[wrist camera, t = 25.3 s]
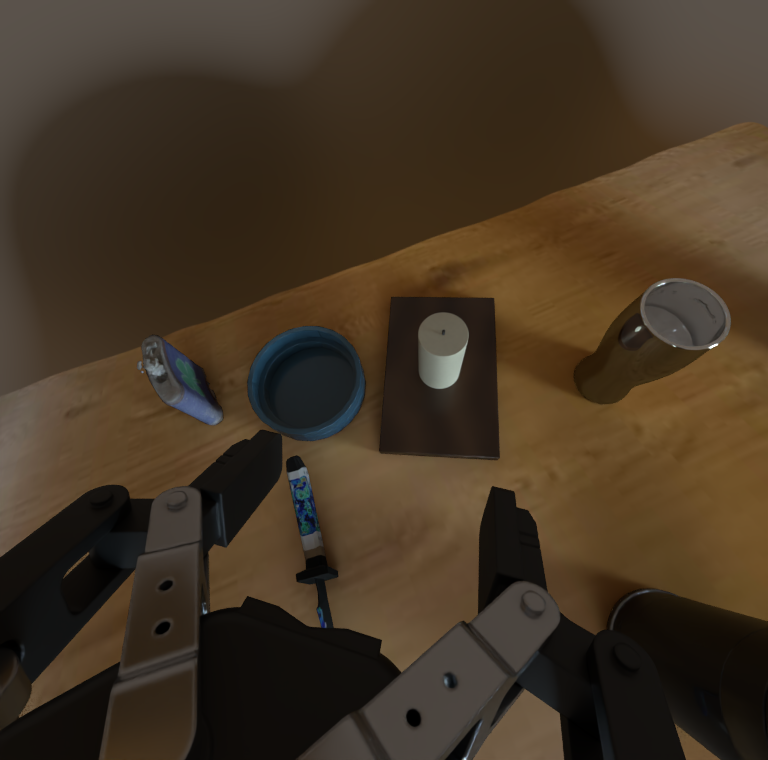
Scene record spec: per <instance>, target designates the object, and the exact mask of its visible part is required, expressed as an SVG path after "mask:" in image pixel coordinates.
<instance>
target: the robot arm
mask: <svg viewBox="0 0 768 760" xmlns="http://www.w3.org/2000/svg"><path fill="white" fill-rule="evenodd" d="M281 471H282V436H281V434H278V433H274V432H270V431H266V430H260V431H259V432H258V433H257V434H256V435H255V436H254V437H253V438H251V439H250V440H247V439H244V440H242V441H240V442H238V443H236V444H234V445H232V446H231V447H230V448H229V449H228V450H227V451H226V452H225V453H223V455H221V456H220V457H219V458H218V459H217V460H216V462H214V463H213V464H211V465H210V466H209V467H208V468H207V469H206V470H205V471H204V472H203V473H202V474H201V475H200V476H198V477H197V478H196V479H195V480H194V481H193V482H192V483H191V484H190V485H189V486H181V487H175V488H172V489H169V490H167V491H165V492H163V493H161V494H160V495H159V496H157V497H156V499H130V496H129V492H128V490H127V489H126V488H125V487H123V486H120V485H106V486H101V487H98V488H95V489H93V490H90V491H88V492H87V493H85V494H83V495H82V496H81V497H79V498H78V499H77V500H75V501H74V502H73V503H71V504H70V505H69V506H67V507H66V508H65V509H64V510H62V511H61V512H60V513H58V514H57V515H56V516H54V517H53V518H52V519H50V520H49V521H48V522H46V523H45V524H44V525H42V526H41V527H40V528H38V529H37V530H36V531H34V532H33V533H32V534H30V535H29V536H28V537H27V538H25V539H24V540H23V541H21V542H20V543H19V544H17V545H16V546H15V547H13V548H12V549H11V550H9V551H8V552H7V553H5V554H4V555H3V556H1V557H0V760H473V758H474V757H475V755H476V754H477V752H478V751H479V749H480V748H481V746H482V744H483V743H484V741H485V740H486V738H487V737H488V735H489V734H490V733H491V732H492V730H493V729H494V728H495V726H496V725H497V724H498V723H499V721H500V720H501V719H502V718H503V716H504V715H505V714H506V713H507V711H508V710H509V709H510V707H511V706H512V705H513V704H514V702H515V701H516V700H517V699H518V697H519V696H520V695H521V694H522V692H523V691H524V690H525V689H526V690H528V691H529V692H530V693H532V694H533V695H535V696H536V697H538V698H539V699H540V700H542V701H543V702H545V703H546V704H548V705H549V706H550V707H552V708H553V709H555V710H556V711H558V712H559V713H560V720H561V731H562V741H563V751H564V760H686V758H685V755H684V752H683V749H682V746H681V743H680V740H679V737H678V734H677V731H676V727H675V724H676V725H677V726H678V727H680V728H681V729H682V730H683V731H685V732H686V733H687V734H689V735H690V736H691V737H692V738H694V739H695V740H696V741H697V742H699V743H700V744H701V745H703V746H704V747H705V748H706V749H708V750H709V751H710V752H711V753H713V754H714V755H715V756H717V757H718V758H719V759H720V760H768V621H765V620H761V619H758V618H754V617H751V616H747V615H743V614H740V613H736V612H733V611H729V610H726V609H722V608H718V607H715V606H711V605H708V604H704V603H701V602H697V601H693V600H690V599H687V598H683V597H680V596H677V595H675V594H673V593H670V592H666V591H662V590H658V589H649V588H647V589H638V590H635V591H632V592H630V593H628V594H626V595H624V596H623V597H622V598H621V599H620V600H619V601H618V602H617V603H616V604H615V606H614V607H613V609H612V611H611V613H610V616H609V619H608V623H607V630H603V631H600V632H599V633H597V635H596V636H595V635H594V634H592V633H590V632H588V631H587V630H585V629H583V628H582V627H580V626H578V625H577V624H575V623H573V622H572V621H570V620H569V619H568V618H566V617H565V616H564V615H563V614H562V613H561V612H560V611H559V608H558V606H557V604H556V602H555V600H554V599H553V598H552V596H551V595H550V594H549V593H548V591H547V586H546V580H545V574H544V568H543V562H542V556H541V550H540V544H539V539H538V532H537V526H536V522H535V521H534V519H533V518H532V516H531V514H530V513H529V511H528V510H525V509H521V508H517V507H516V499H515V492H514V491H511V490H506V489H502V488H498V487H494V486H492V488H491V490H490V494H489V497H488V500H487V504H486V507H485V510H484V514H483V517H482V521H481V526H480V534H479V586H478V615H477V616H476V617H475V618H474V619H473V620H472V621H471V622H469V623H466V622H465V621H461V622H459V623H457V624H456V625H455V626H454V627H453V628H451V629H450V630H449V631H448V632H447V633H446V634H445V635H444V636H442V637H441V638H440V639H439V640H438V641H437V642H436V643H435V644H434V645H432V646H431V647H430V648H429V649H428V650H427V651H426V652H425V653H423V654H422V655H421V656H420V657H419V658H418V659H417V660H416V661H414V662H413V663H412V664H411V665H410V666H409V667H408V668H407V669H405V670H404V671H403V672H402V673H401V671H400V670H399V669H398V668H397V667H396V666H395V665H394V664H393V663H392V662H391V661H390V660H389V659H388V658H387V657H385V656H384V655H382V654H381V653H380V648H381V642H382V640H380V639H377V638H374V637H371V636H368V635H365V634H362V633H359V632H355V631H352V630H349V629H341V628H319V627H309V626H306V625H305V624H303V623H302V622H300V621H299V620H298V619H296V618H295V617H293V616H292V615H290V614H289V613H288V612H286V611H285V610H283V609H282V608H280V607H279V606H276V605H273V604H270V603H267V602H264V601H261V600H258V599H255V598H252V597H249V596H247V598H246V599H245V601H244V602H243V604H242V606H241V607H233V608H225V609H220V610H217V611H213V612H210V585H209V554H208V551H209V550H210V549H211V548H212V546H213V545H214V544H216V545H219V546H222V547H227V546H228V545H229V543H230V542H231V541H232V540H233V538H234V537H235V536H236V534H237V533H238V532H239V530H240V529H241V528H242V527H243V525H244V524H245V523H246V521H247V520H248V519H249V518H250V516H251V515H252V514H253V512H254V511H255V510H256V508H257V507H258V506H259V505H260V503H261V502H262V501H263V499H264V498H265V497H266V496H267V494H268V493H269V492H270V490H271V489H272V488H273V486H274V485H275V484H276V483H277V481H278V479H279V477H280V475H281ZM88 551H89V555H88V556H87V557H86V558H85V559H84V560H83V561H82V562H81V563H80V564H79V565H77V566H76V567H75V568H74V569H73V570H72V571H71V572H70V573H69V574H68V575H67V576H66V577H65V578H64V579H63V577H64V576H65V574H66V572H67V571H68V570H69V569H70V568H71V567H72V566H73V565H74V564H75V563H76V562H77V561H78V560H79V559H80V558H82V557H83V556H84V555H85V554H86V553H87V552H88ZM135 569H136V571H135V577H134V583H133V589H132V595H131V601H130V607H129V613H128V619H127V625H126V631H125V637H124V643H123V649H122V655H121V661H120V662H118V663H116V664H115V665H113V666H111V667H109V668H108V669H106V670H104V671H102V672H100V673H99V674H97V675H95V676H93V677H91V678H90V679H88V680H86V681H84V682H82V683H81V684H79V685H77V686H75V687H74V688H72V689H70V690H68V691H66V692H65V693H63V694H61V695H59V696H57V697H56V698H54V699H52V700H50V701H49V702H47V703H45V704H43V705H41V706H40V707H38V708H36V709H34V710H32V711H31V712H29V713H27V714H25V715H24V716H22V717H20V718H19V714H20V713H21V712H22V710H23V709H24V707H25V706H26V704H27V702H28V700H29V698H30V695H31V691H32V683H33V682H34V681H35V680H36V679H37V678H38V676H39V675H40V674H41V673H42V672H43V671H44V670H45V669H46V668H47V666H48V665H49V664H50V663H51V662H52V661H53V660H54V659H55V658H56V656H57V655H58V654H59V653H60V652H61V651H62V650H63V649H64V648H65V646H66V645H67V644H68V643H69V642H70V641H71V640H72V639H73V638H74V637H75V635H76V634H77V633H78V632H79V631H80V630H81V629H82V628H83V627H84V625H85V624H86V623H87V622H88V621H89V620H90V619H91V618H92V617H93V615H94V614H95V613H96V612H97V611H98V610H99V609H100V608H101V607H102V605H103V604H104V603H105V602H106V601H107V600H108V599H109V598H110V597H111V595H112V594H113V593H114V592H115V591H116V590H117V589H118V588H119V587H120V585H121V584H122V583H123V582H124V581H125V580H126V579H127V578H128V577H129V576H130V574H131V573H132V572H133V571H134V570H135ZM674 723H675V724H674Z"/></svg>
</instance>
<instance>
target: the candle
mask: <svg viewBox="0 0 768 760" xmlns="http://www.w3.org/2000/svg"><path fill="white" fill-rule="evenodd" d="M468 338H469V332H468V328H467V326H466V324H465V323H464V321H463V320H462V319H461V318H459V317H458V316H456V315H454V314H451V313H445V312H441V313H436V314H433V315H431V316H429V317H427V318H426V319H425V320H424V321H423V322H422V324H421V325H420V327H419V331H418V361H419V375H420V378H421V379H422V381H423V382H424V383H425V384H426V385H428V386H430V387H432V388H436V389H443V388H447V387H449V386H451V385H452V384H454V383H455V382H456V380H457V379H458V376H459V373H460V369H461V365H462V362H463V358H464V354H465V350H466V346H467V342H468Z"/></svg>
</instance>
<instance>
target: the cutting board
mask: <svg viewBox="0 0 768 760" xmlns="http://www.w3.org/2000/svg"><path fill="white" fill-rule="evenodd" d="M441 312H445V313H451V314H454V315H456V316H458V317H459V318H461V319H462V320H463V321H464V323H465V324H466V326H467V328H468V332H469V338H468V342H467V346H466V350H465V354H464V358H463V362H462V365H461V369H460V373H459V376H458V379H457V380H456V382H455V383H454V384H452V385H451V386H449V387H447V388H443V389H436V388H432V387H430V386H428V385H426V384H425V383H424V382H423V381H422V379H421V378H420V375H419V361H418V331H419V327H420V325H421V324H422V322H423V321H424V320H425V319H426V318H427V317H429V316H431V315H433V314H436V313H441ZM379 451H380V453H382V454H399V455H416V456H433V457H450V458H467V459H484V460H498V459H499V458H500V451H499V422H498V393H497V363H496V334H495V305H494V298H450V297H391V307H390V320H389V333H388V346H387V358H386V371H385V384H384V397H383V410H382V423H381V435H380V448H379Z"/></svg>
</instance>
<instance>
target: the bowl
mask: <svg viewBox="0 0 768 760" xmlns="http://www.w3.org/2000/svg"><path fill="white" fill-rule="evenodd" d="M247 384H248V397H249V400H250V402H251V405H252V408H253V410H254V411H255V413H256V414H257V415H258V417H259V418H260V419H261V420H262V421H263V422H264V423H266V424H267V425H269V426H270V427H271V428H273V429H274V430H276V431H277V432H279V433H280V434H282V435H284V436H286V437H289V438H292V439H295V440H299V441H315V440H320V439H324V438H327V437H329V436H332V435H334V434H336V433H338V432H339V431H341V430H342V429H343V428H344V427H346V426H347V425H348V424H349V423H350V422H351V421H352V420H353V418H354V417H355V416H356V414H357V413H358V411H359V410H360V408H361V405H362V402H363V400H364V396H365V388H366V381H365V375H364V370H363V368H362V365H361V362H360V359H359V357H358V355H357V353H356V351H355V349H354V347H353V346H352V345H351V344H350V343H349V342H348V340H347V339H346V338H345V337H344V336H342V335H340V334H338V333H337V332H335V331H333V330H331V329H327V328H324V327H320V326H302V327H298V328H293V329H290V330H288V331H285V332H283V333H281V334H279V335H277V336H276V337H274V338H273V339H272V340H271V341H269V342H268V343H267V344H266V345H265V346H264V347H263V348H262V350H261V351H260V352H259V353H258V354H257V356H256V358H255V360H254V362H253V364H252V366H251V368H250V372H249V377H248V382H247Z"/></svg>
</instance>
